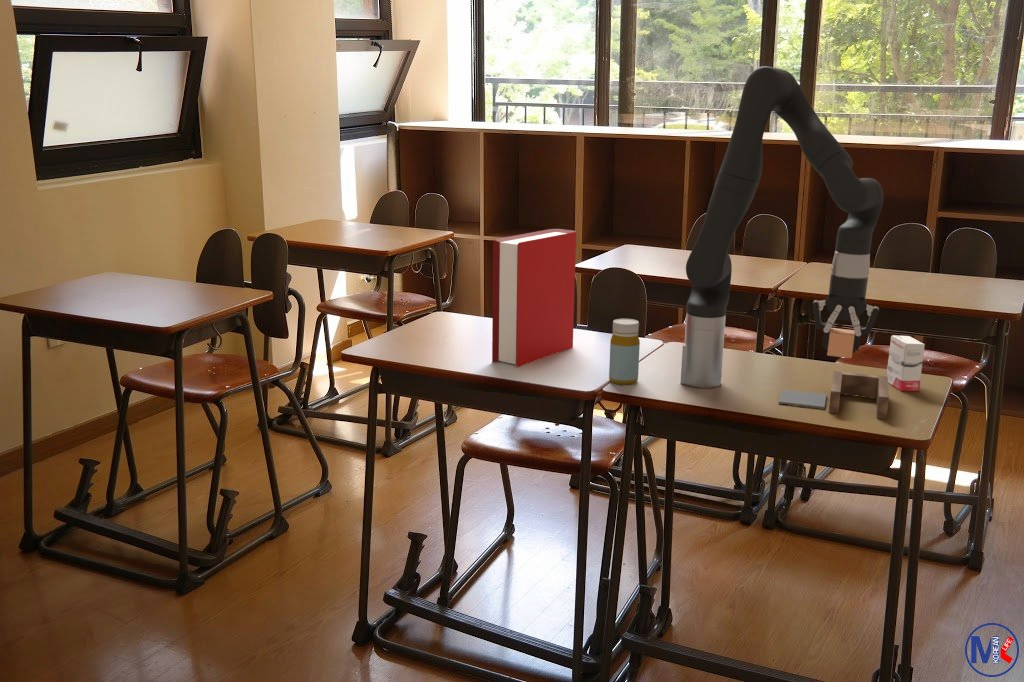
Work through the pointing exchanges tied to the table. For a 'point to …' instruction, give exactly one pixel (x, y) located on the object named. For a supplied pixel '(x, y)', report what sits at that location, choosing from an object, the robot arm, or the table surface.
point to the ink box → (905, 363)
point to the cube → (841, 342)
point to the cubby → (860, 390)
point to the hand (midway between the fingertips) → (840, 349)
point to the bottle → (624, 352)
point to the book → (533, 295)
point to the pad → (803, 399)
